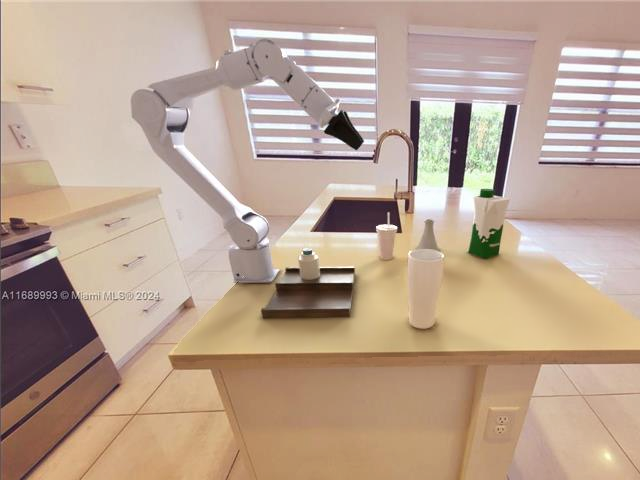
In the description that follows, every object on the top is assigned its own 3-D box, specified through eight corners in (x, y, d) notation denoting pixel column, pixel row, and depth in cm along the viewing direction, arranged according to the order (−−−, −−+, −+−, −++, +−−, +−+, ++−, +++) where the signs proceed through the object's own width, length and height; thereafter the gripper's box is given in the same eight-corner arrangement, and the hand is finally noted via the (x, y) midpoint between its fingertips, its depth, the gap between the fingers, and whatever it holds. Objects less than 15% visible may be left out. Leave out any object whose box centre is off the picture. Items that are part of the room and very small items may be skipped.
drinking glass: (428, 336, 61) (434, 264, 54) (399, 325, 64) (400, 256, 57) (443, 320, 66) (450, 253, 59) (415, 311, 69) (419, 246, 62)
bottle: (298, 279, 77) (295, 253, 74) (302, 272, 82) (299, 246, 78) (318, 279, 78) (315, 253, 74) (321, 272, 82) (318, 246, 79)
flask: (441, 249, 106) (444, 219, 102) (432, 255, 101) (434, 224, 96) (423, 245, 110) (424, 216, 105) (412, 250, 104) (414, 220, 99)
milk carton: (480, 247, 109) (489, 187, 99) (503, 255, 102) (514, 191, 93) (464, 252, 104) (471, 189, 94) (486, 260, 97) (497, 194, 88)
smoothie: (394, 262, 95) (395, 215, 88) (373, 260, 96) (373, 214, 89) (398, 255, 100) (399, 210, 94) (379, 253, 101) (379, 209, 95)
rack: (262, 318, 65) (260, 306, 64) (287, 276, 84) (285, 267, 82) (349, 316, 66) (349, 305, 65) (355, 276, 85) (354, 266, 84)
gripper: (315, 74, 58) (371, 131, 63) (326, 84, 70) (372, 130, 75) (293, 107, 60) (349, 159, 65) (308, 111, 73) (354, 154, 78)
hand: (360, 145), depth 70 cm, fingers open, 7 cm apart
